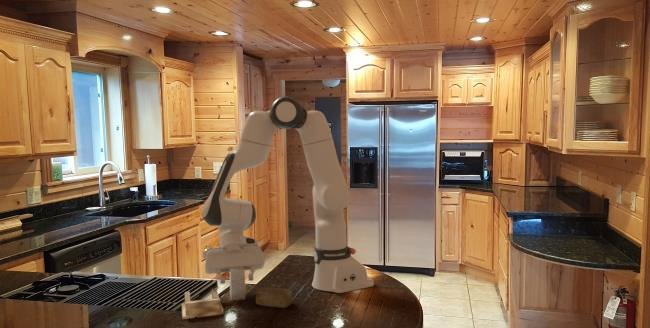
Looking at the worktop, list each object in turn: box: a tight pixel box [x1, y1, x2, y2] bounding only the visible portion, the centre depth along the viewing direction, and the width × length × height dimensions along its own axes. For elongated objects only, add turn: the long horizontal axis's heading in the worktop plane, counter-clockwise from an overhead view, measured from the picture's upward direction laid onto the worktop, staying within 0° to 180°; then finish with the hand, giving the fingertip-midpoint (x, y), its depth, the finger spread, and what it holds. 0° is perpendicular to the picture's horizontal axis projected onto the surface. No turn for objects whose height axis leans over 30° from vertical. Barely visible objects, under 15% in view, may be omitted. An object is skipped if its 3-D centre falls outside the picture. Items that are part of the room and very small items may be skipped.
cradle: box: [181, 288, 224, 320], centre depth 141 cm, size 12×12×4 cm
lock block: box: [228, 266, 246, 302], centre depth 152 cm, size 4×5×10 cm
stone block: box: [255, 286, 294, 309], centre depth 145 cm, size 6×12×5 cm, turn 73°
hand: (237, 281), depth 151 cm, fingers open, 8 cm apart
